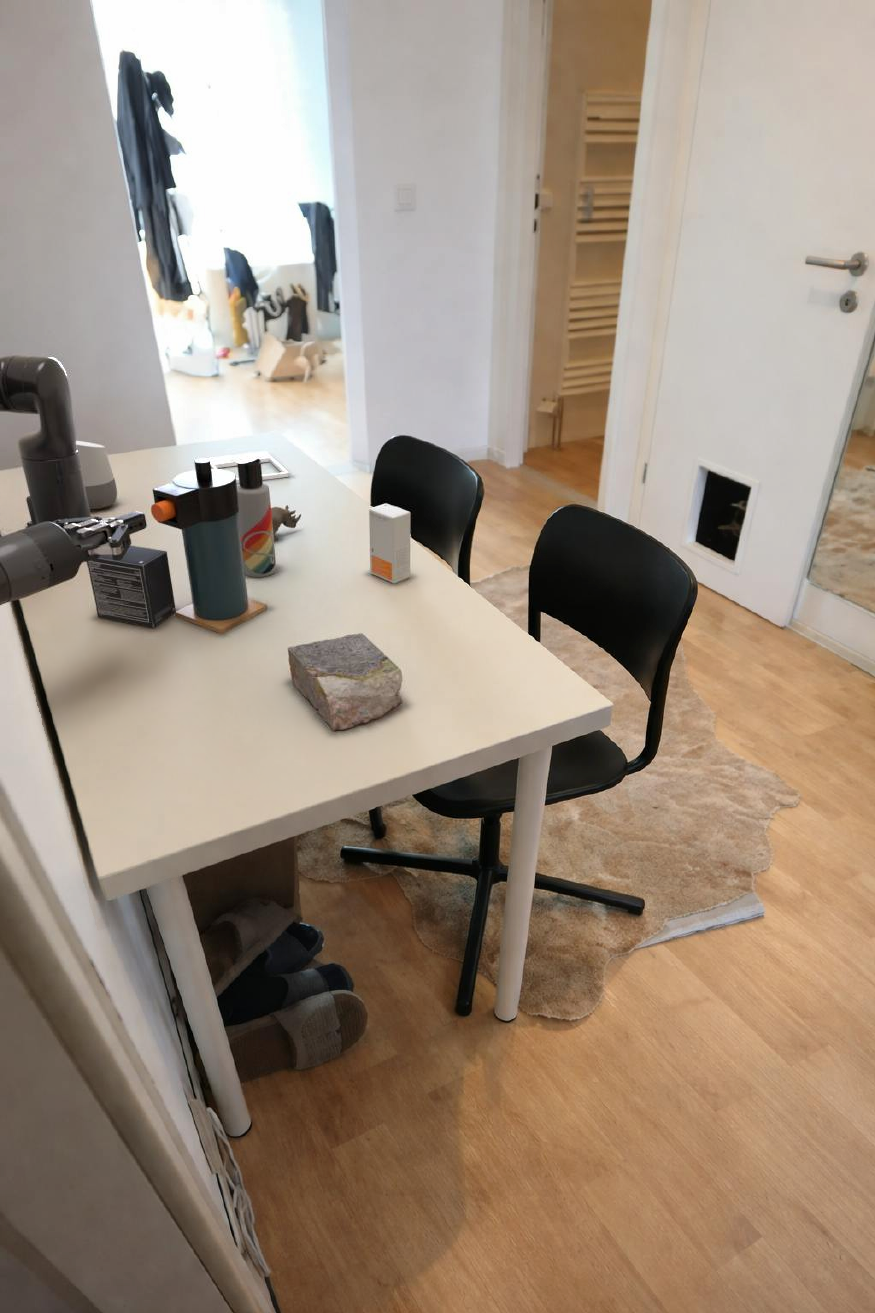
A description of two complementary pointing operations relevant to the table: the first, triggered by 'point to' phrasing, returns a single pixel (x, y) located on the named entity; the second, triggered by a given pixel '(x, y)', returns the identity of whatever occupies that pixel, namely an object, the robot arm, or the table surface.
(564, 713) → the table surface
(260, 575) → the lotion bottle
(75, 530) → the robot arm
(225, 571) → the drink bottle
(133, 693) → the table surface
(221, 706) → the table surface
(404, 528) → the cosmetic box
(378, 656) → the geological specimen
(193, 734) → the table surface
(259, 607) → the coaster
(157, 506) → the button
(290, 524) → the rhino figurine
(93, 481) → the smart speaker
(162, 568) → the small box
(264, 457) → the photo frame
